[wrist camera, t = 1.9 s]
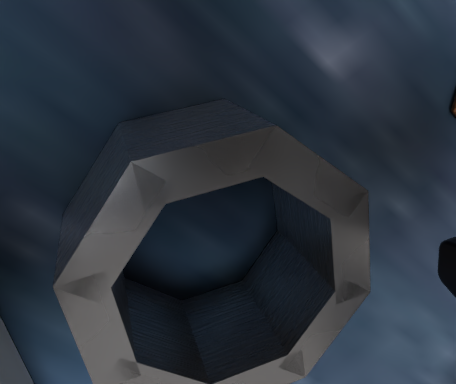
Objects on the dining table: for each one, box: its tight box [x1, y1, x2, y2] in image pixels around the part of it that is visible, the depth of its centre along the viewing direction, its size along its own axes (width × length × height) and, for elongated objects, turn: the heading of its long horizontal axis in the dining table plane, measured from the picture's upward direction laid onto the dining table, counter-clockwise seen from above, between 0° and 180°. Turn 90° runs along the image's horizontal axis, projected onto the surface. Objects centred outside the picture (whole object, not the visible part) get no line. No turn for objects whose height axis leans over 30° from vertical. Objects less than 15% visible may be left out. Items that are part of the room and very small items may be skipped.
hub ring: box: [53, 99, 370, 384], centre depth 11 cm, size 7×7×4 cm
